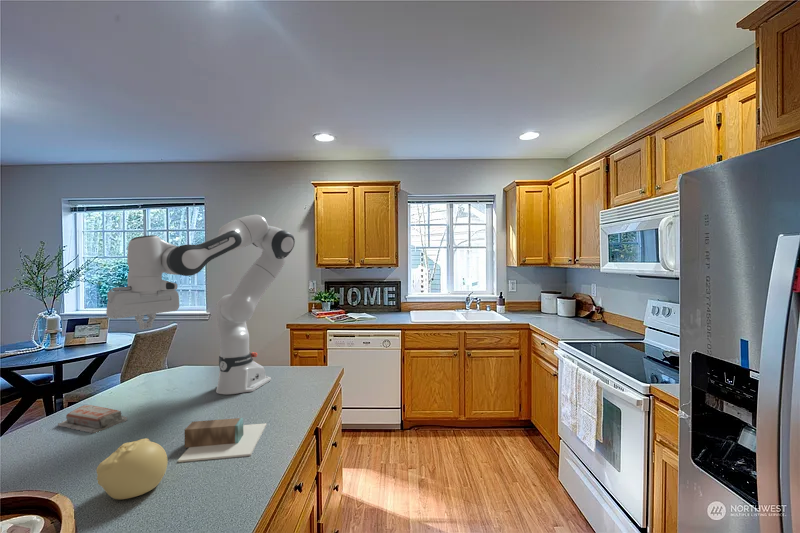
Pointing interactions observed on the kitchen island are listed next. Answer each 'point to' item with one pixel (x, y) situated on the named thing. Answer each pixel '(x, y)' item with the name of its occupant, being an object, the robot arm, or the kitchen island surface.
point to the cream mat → (227, 446)
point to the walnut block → (214, 432)
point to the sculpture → (132, 469)
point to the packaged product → (92, 419)
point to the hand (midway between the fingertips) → (145, 328)
